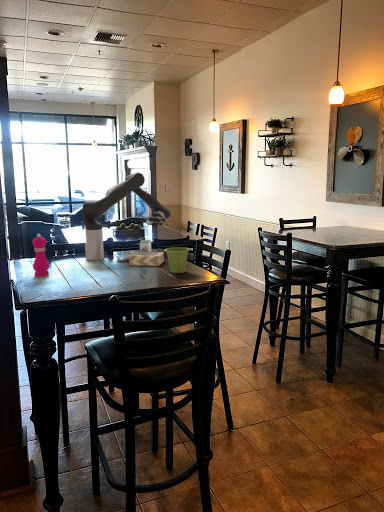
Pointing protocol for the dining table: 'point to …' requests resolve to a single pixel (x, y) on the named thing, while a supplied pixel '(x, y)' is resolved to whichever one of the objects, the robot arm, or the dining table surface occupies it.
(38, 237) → the pepper mill
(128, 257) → the bolt
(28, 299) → the dining table surface
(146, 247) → the housing
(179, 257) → the plant pot
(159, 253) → the beige chevron box
